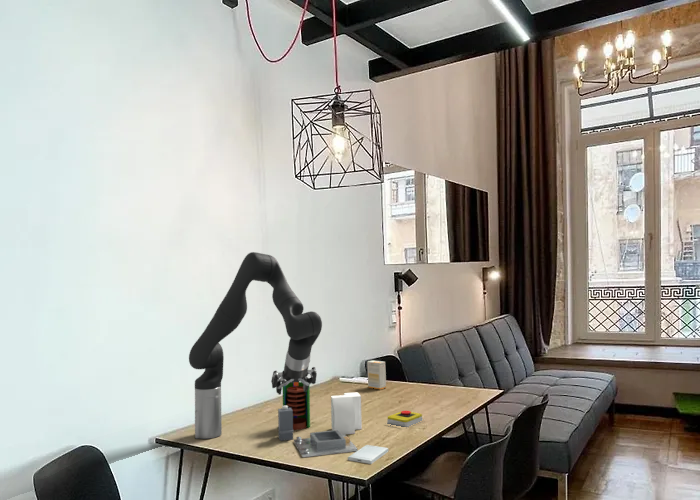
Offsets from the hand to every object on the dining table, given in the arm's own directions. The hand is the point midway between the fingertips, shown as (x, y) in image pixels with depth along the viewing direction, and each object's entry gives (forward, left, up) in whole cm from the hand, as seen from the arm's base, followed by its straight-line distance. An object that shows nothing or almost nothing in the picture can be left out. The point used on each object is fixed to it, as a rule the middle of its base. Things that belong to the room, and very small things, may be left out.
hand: (291, 390), depth 178 cm
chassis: (+10, -2, -19) cm, 21 cm away
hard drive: (+22, -15, -20) cm, 33 cm away
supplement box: (+54, +75, -19) cm, 95 cm away
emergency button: (+45, +15, -19) cm, 52 cm away
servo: (-1, +11, -19) cm, 22 cm away
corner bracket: (+22, +14, -19) cm, 33 cm away
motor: (+5, +24, -19) cm, 31 cm away
